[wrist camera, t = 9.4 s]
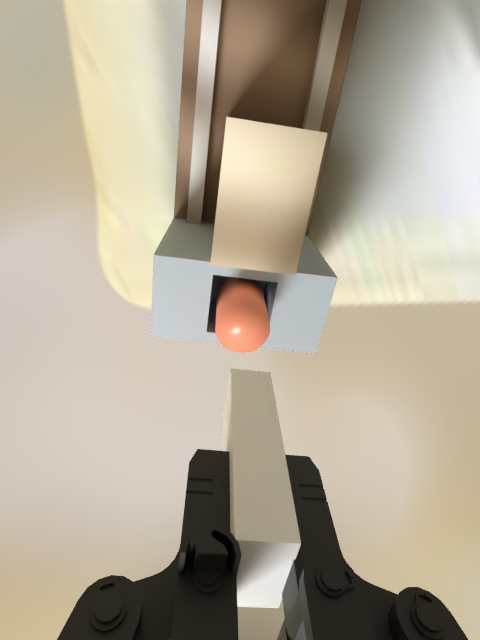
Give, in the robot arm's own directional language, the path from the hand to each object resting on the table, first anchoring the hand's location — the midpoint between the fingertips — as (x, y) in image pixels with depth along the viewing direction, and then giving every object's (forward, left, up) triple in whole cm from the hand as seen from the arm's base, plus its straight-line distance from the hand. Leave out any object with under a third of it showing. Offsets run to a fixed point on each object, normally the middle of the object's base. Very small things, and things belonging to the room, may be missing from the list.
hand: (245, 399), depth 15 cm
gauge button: (0, 0, -9) cm, 9 cm away
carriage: (-7, 0, -16) cm, 17 cm away
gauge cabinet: (0, 0, -18) cm, 18 cm away
